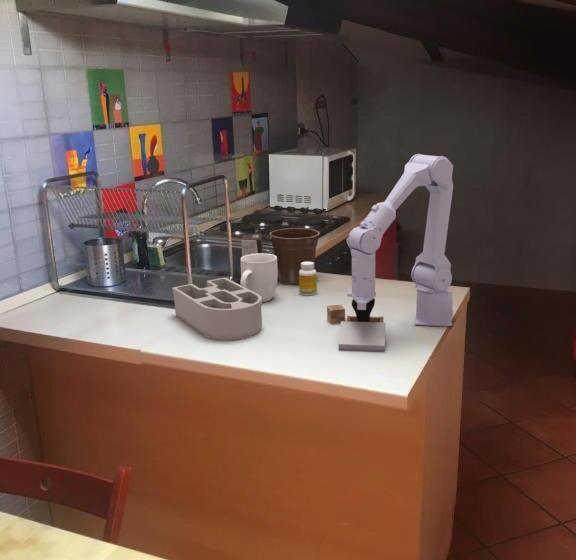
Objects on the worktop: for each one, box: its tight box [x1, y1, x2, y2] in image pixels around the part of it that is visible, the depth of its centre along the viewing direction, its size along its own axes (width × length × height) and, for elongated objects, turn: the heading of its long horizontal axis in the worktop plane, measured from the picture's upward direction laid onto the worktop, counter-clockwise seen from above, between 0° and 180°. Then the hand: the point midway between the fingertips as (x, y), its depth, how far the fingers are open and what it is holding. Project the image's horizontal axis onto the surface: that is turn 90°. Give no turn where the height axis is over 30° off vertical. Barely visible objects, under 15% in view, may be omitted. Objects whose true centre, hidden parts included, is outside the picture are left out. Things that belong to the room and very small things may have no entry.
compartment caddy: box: [171, 277, 263, 341], centre depth 173 cm, size 17×28×9 cm, turn 32°
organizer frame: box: [345, 315, 385, 323], centre depth 164 cm, size 10×14×2 cm
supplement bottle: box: [298, 262, 318, 296], centre depth 196 cm, size 5×5×10 cm
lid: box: [337, 320, 387, 352], centre depth 155 cm, size 11×8×2 cm
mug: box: [239, 252, 278, 303], centre depth 190 cm, size 15×11×13 cm
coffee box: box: [240, 233, 264, 257], centre depth 206 cm, size 9×6×16 cm
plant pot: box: [269, 227, 321, 286], centre depth 209 cm, size 16×16×16 cm
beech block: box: [326, 304, 346, 325], centre depth 172 cm, size 4×4×4 cm
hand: (363, 327), depth 160 cm, fingers closed
